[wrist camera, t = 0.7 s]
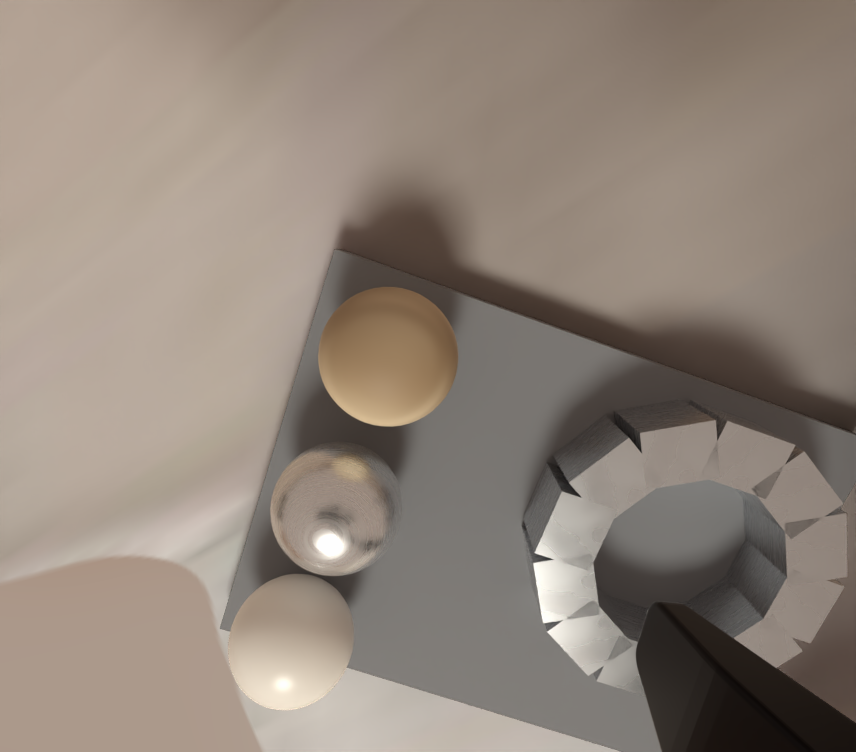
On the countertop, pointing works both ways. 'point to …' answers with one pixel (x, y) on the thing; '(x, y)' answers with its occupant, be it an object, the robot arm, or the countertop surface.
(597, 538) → the crimped metal cup
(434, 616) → the mat
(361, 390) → the tan wooden ball
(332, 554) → the steel ball
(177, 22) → the countertop surface
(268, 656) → the plastic ball
